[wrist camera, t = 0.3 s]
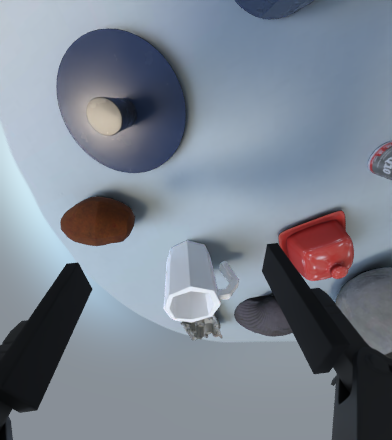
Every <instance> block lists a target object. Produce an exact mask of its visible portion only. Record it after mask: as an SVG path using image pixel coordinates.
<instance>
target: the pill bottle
mask: <svg viewBox="0 0 392 440" xmlns="http://www.w3.org/2000/svg"><path fill="white" fill-rule="evenodd" d="M368 168H369V170H370V171H371V172H372V173H374V174H377V175H379V176H382V177H385V178H387V179H390V180H392V141H391V142H387V143H385V144H383V145H381V146H380V147H379V148H378V149H376V150H375V152H374V153H373V154H372V155H371V157H370V159H369V162H368Z"/></svg>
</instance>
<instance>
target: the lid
mask: <svg viewBox="0 0 392 440" xmlns="http://www.w3.org/2000/svg"><path fill="white" fill-rule="evenodd" d="M57 98H58V104H59V108H60V111H61V115H62V117H63V120H64V122H65V125H66V126H67V128H68V130H69V132H70V134H71V135H72V136H73V138H74V139H75V141H76V142H77V143H78V144H79V146H80V147H81V148H82V149H83V150H84V151H85V152H86V153H87V154H88V155H90V156H91V157H92V158H93V159H95V160H96V161H98V162H99V163H101V164H103V165H105V166H107V167H109V168H112V169H114V170H117V171H121V172H128V173H140V172H146V171H150V170H152V169H155V168H157V167H159V166H160V165H162V164H163V163H165V162H166V161H167V160H168V159H169V158H170V157H171V156H172V155H173V154H174V152H175V151H176V150H177V148H178V146H179V144H180V142H181V139H182V137H183V133H184V129H185V121H186V108H185V100H184V96H183V92H182V89H181V86H180V83H179V81H178V79H177V76H176V74H175V72H174V71H173V69H172V67H171V66H170V64H169V63H168V62H167V60H166V59H165V58H164V56H163V55H162V54H161V53H160V52H159V51H158V50H157V49H156V48H155V47H153V46H152V45H151V44H150V43H148V42H147V41H145V40H144V39H142V38H140V37H139V36H137V35H134V34H132V33H130V32H127V31H123V30H119V29H98V30H95V31H92V32H89V33H87V34H85V35H83V36H81V37H80V38H78V39H77V40H76V41H75V42H74V43H73V44H72V45H71V46H70V47H69V48H68V50H67V51H66V53H65V55H64V56H63V58H62V61H61V64H60V66H59V70H58V75H57Z"/></svg>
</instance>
